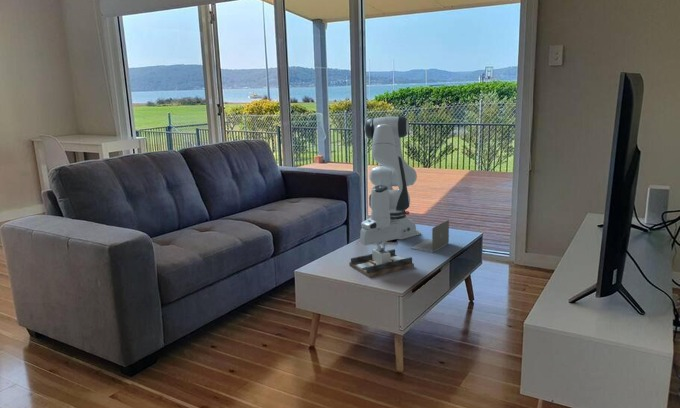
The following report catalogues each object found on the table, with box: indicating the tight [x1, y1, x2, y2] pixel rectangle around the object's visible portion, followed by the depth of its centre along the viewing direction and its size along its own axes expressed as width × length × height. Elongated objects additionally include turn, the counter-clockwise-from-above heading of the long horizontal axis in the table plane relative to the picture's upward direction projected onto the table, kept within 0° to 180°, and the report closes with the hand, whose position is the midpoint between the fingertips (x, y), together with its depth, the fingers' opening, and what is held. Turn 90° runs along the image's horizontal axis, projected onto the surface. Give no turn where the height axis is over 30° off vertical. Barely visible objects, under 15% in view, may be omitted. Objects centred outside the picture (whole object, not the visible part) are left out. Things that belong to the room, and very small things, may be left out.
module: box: [371, 248, 391, 264], centre depth 230 cm, size 4×9×5 cm, turn 25°
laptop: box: [411, 219, 450, 254], centre depth 257 cm, size 18×12×13 cm
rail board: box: [348, 248, 415, 278], centre depth 231 cm, size 24×18×4 cm
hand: (381, 250), depth 230 cm, fingers closed, pressing on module
